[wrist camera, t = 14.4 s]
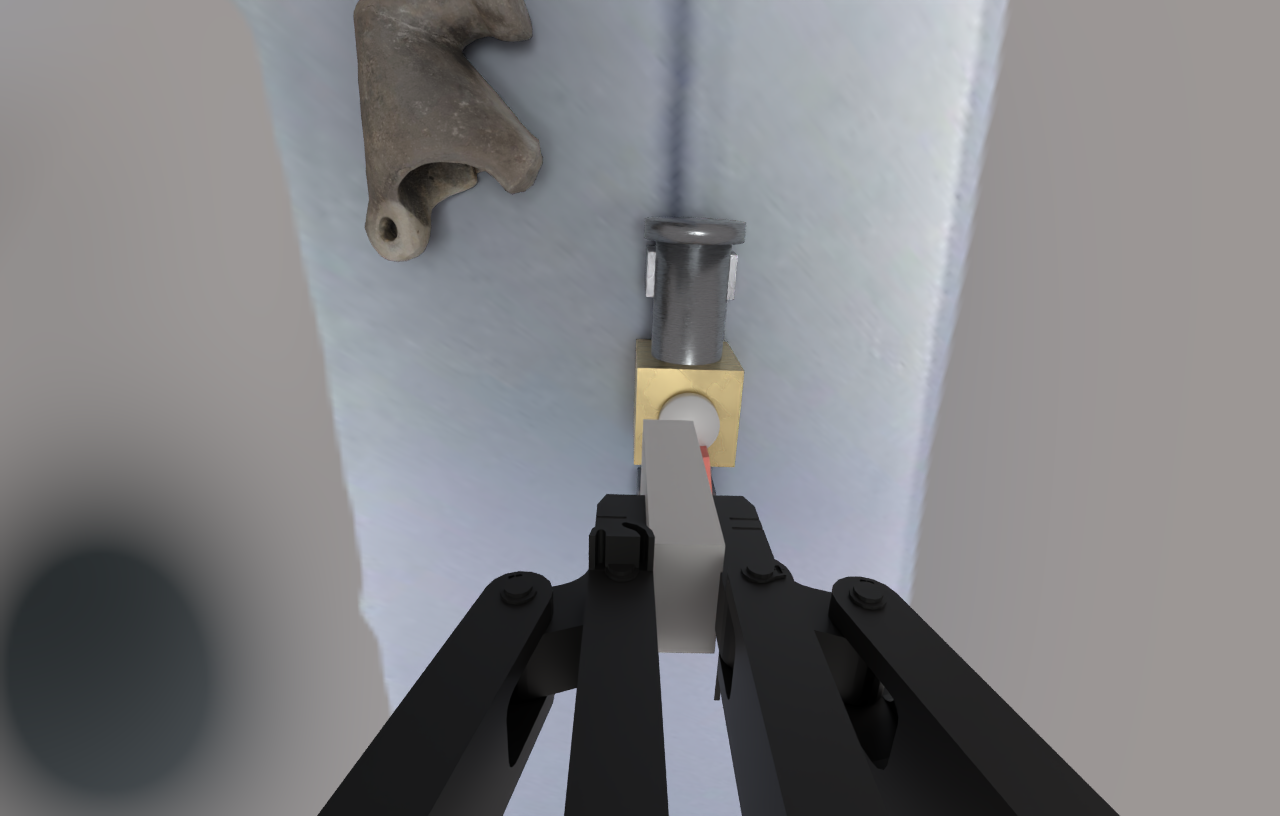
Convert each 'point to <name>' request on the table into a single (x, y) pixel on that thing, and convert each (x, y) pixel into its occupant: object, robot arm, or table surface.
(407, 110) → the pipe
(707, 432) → the lever
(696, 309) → the valve pipe
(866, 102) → the table surface
